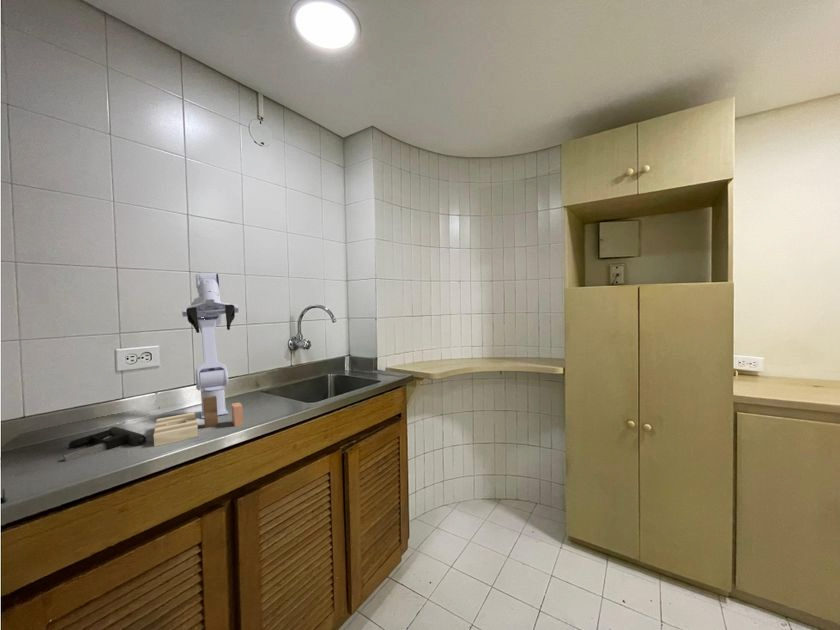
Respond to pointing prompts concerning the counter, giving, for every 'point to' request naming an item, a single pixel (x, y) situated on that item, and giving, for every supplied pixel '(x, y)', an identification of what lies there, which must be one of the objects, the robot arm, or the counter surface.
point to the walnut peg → (210, 411)
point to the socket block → (175, 429)
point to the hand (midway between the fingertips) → (213, 328)
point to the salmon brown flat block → (237, 414)
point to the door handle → (104, 442)
